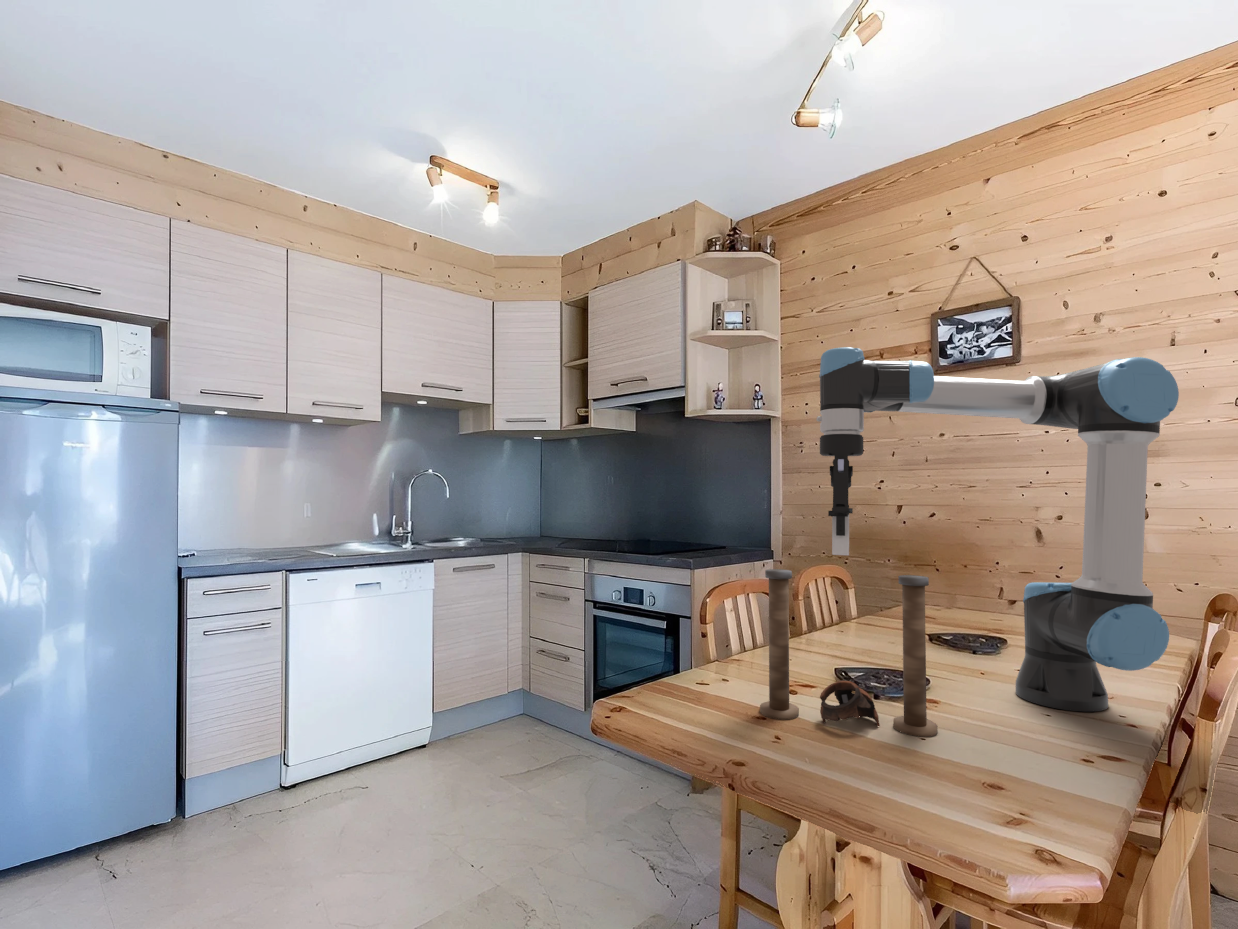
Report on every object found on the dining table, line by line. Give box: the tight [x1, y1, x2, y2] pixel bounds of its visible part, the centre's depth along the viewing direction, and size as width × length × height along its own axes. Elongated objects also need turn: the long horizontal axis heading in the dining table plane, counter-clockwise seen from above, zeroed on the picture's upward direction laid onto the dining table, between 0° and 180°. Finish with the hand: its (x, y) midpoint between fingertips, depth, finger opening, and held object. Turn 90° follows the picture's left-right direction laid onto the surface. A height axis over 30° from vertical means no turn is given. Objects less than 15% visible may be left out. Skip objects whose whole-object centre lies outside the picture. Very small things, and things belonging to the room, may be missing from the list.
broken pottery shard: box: [819, 679, 881, 727], centre depth 116 cm, size 12×10×8 cm
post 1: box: [759, 568, 800, 721], centre depth 120 cm, size 7×7×26 cm
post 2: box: [892, 574, 939, 738], centre depth 113 cm, size 7×7×26 cm
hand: (841, 551), depth 117 cm, fingers open, 13 cm apart
